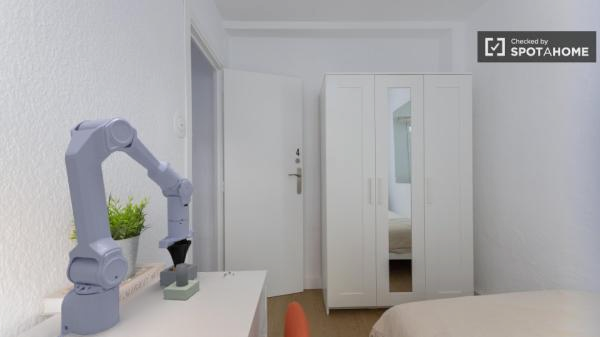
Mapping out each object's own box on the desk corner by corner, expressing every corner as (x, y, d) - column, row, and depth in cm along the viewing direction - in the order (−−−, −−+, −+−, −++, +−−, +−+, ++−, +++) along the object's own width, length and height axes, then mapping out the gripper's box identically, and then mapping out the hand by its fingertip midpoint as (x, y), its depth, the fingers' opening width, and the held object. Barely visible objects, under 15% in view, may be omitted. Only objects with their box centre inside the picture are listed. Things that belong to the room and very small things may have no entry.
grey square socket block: (160, 290, 74) (160, 272, 74) (175, 280, 81) (175, 263, 81) (183, 291, 73) (183, 272, 73) (197, 281, 80) (196, 264, 80)
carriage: (163, 298, 66) (163, 268, 66) (178, 288, 72) (178, 260, 72) (186, 300, 65) (185, 269, 65) (199, 289, 71) (199, 261, 71)
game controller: (238, 283, 79) (238, 274, 79) (197, 288, 76) (197, 278, 76) (239, 276, 84) (239, 268, 84) (201, 280, 82) (200, 271, 82)
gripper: (175, 224, 70) (176, 276, 69) (204, 215, 84) (204, 259, 84) (151, 224, 71) (151, 275, 71) (183, 215, 85) (184, 258, 85)
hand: (179, 267), depth 77 cm, fingers closed, pressing on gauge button
